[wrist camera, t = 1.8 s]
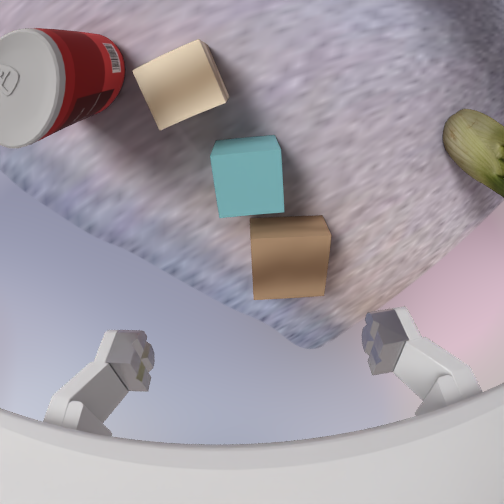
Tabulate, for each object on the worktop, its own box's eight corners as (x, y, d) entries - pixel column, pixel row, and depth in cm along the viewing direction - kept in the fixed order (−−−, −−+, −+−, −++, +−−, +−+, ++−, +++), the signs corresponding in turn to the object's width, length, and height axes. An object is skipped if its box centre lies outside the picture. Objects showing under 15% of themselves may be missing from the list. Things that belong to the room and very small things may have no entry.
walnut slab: (249, 217, 29) (250, 238, 26) (321, 214, 29) (331, 235, 26) (252, 274, 33) (253, 299, 30) (316, 271, 33) (323, 295, 30)
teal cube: (216, 140, 25) (210, 156, 21) (274, 134, 25) (280, 149, 21) (223, 192, 28) (219, 218, 24) (277, 187, 28) (284, 212, 24)
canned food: (76, 23, 18) (-4, 17, 8) (144, 52, 20) (82, 48, 11) (43, 96, 21) (-36, 124, 12) (105, 128, 24) (36, 169, 14)
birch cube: (152, 69, 21) (132, 70, 17) (207, 44, 20) (198, 39, 16) (174, 119, 24) (159, 130, 20) (229, 96, 23) (225, 102, 19)
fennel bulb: (453, 167, 26) (528, 223, 16) (425, 141, 25) (506, 192, 15) (478, 125, 23) (560, 168, 13) (452, 96, 22) (540, 129, 12)
